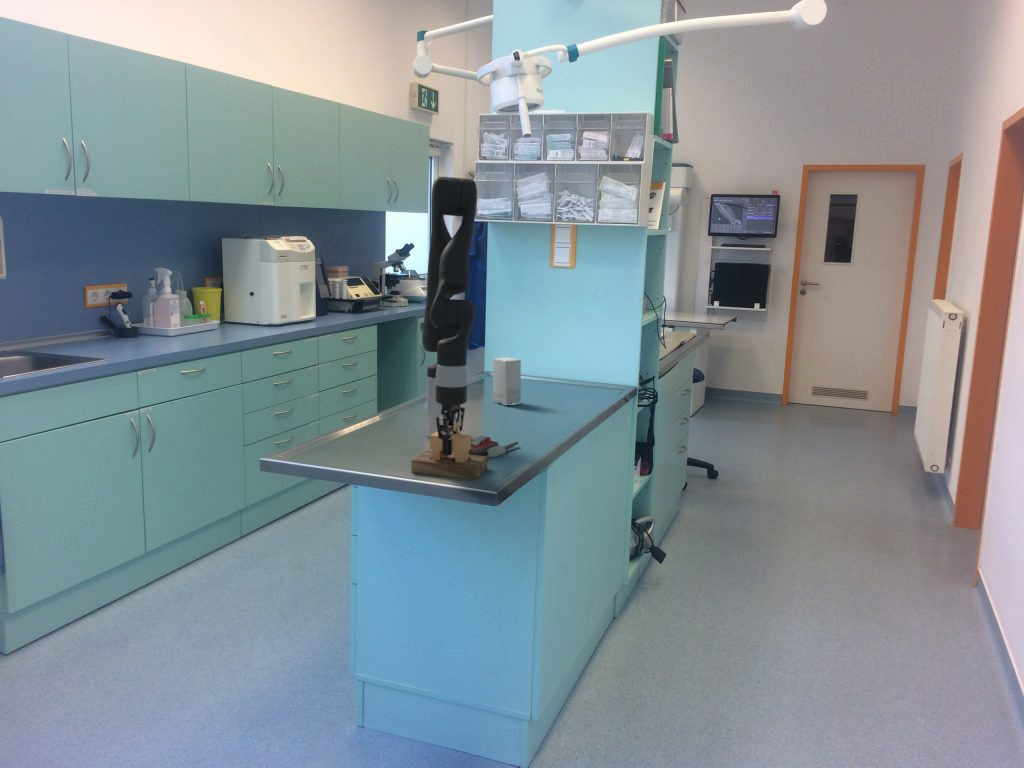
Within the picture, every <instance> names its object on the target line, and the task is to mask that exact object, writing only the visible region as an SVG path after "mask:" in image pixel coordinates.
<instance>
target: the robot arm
mask: <svg viewBox="0 0 1024 768" xmlns="http://www.w3.org/2000/svg"><path fill="white" fill-rule="evenodd" d="M477 201H478V188H477V184H476V182H475V181H474V180H473V179H471V178H464V177H463V178H462V177H453V176H437V177H435V179H433V183H432V188H431V200H430V202H431V204H430V205H431V209H430V210H431V211H430V214H431V215H430V218H431V220H430V225H431V226H430V231H431V232H430V243H429V251H428V252H429V253H428V262H427V276H426V277H427V278H426V282H427V283H426V303H425V311H424V316H423V317H424V318H423V323H422V333H421V339H422V340H421V342H422V347H423V349H424V351H426V352H429V353H436V362H434V363H431V364H429V365H428V366H427V367H426V369H427V370H426V436H427V437H428V438H430V435H432V434H433V433H435V432H438V438H439V439H441V440H442V454H443V455H448V456H450V455H451V454H452V453H453V452H452V435H453V434H461V432H462V431H463V427H464V420H465V419H464V418H465V412H466V410H465V409H466V408H465V407H463V406H461V405H463V404H466V403H467V400H468V369H467V367H468V366H467V363H468V362H467V354H468V344H469V338H470V334H471V330H472V328H473V325H474V321H475V317H476V308H475V305H474V304H473V302H472V301H471V300H469V299H457V298H455V299H454V298H453V297H454V296H456V295H460V294H463V293H466V291H467V290H468V288H469V275H470V273H469V272H470V271H469V270H470V269H469V267H470V266H469V264H470V252H471V245H472V240H473V235H474V227H475V220H476V211H477ZM444 216H452V217H462V219H461V224H460V225H459V227H458V229H457V231H456V232H455V234H454V235H453V237H452V236H451V233H450V232H449V230H448V227H447V224H446V221H445V217H444ZM452 298H453V299H452ZM445 433H446V434H445Z"/></svg>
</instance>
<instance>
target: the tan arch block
mask: <svg viewBox="0 0 1024 768" xmlns="http://www.w3.org/2000/svg"><path fill="white" fill-rule="evenodd" d="M445 434H446V433H445ZM471 436H472V435H471V434H461V433H460V434H453V435H452V453H455V462H459V463H465V462H467V461H468V457H469V450H470V449H471V442H472V437H471ZM429 450H430V451H432V460H442V459H444V458H445V455H443V454H442V440H441V439H439V438H438V432H435V433H433V434H432V435H430V437H429Z"/></svg>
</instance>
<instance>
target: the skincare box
mask: <svg viewBox="0 0 1024 768" xmlns="http://www.w3.org/2000/svg"><path fill="white" fill-rule="evenodd" d="M521 363H522V360H521V359H518V358H513V357H508V356H507V357H499V358H496V357H495V358H493V359H492V377H493V378H492V380H493V381H492V382H493V383H492V386H493V389H492V391H493V393H492V395H493V398H492V399H493V400H494V401H497V402H500V403H503V404H512V403H519V402H521V401H522V400H521V399H522V398H521V397H522V396H521V395H522V393H521V391H522V389H521V387H522V386H521V385H522V384H521V383H522V382H521V381H522V378H521V376H522V375H521V374H522V371H521V369H522V366H521V365H522V364H521ZM521 403H522V402H521Z"/></svg>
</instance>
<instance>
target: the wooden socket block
mask: <svg viewBox="0 0 1024 768" xmlns="http://www.w3.org/2000/svg"><path fill="white" fill-rule="evenodd" d="M488 459H489V457H487V456H477V455H469V457H468V461H467V462H465V463H459V462H455V452H452V454H451V455H450V456H448V455H445V458H444V459H442V460H432V450H430V449H429V450H425V451H423V452H422V453H420V454H419V455H418V456H416V457H414V458H412V459H411V473H413V474H414V473H416V474H423V475H431V476H440V477H441V476H442V477H450V478H456V479H457V478H458V479H459V478H460V479H467V480H476V479H477V478H479V477H480V476H481V475H482V474H483V473H484V472H485V471H486V470H487V469H488V467H489V460H488Z"/></svg>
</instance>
